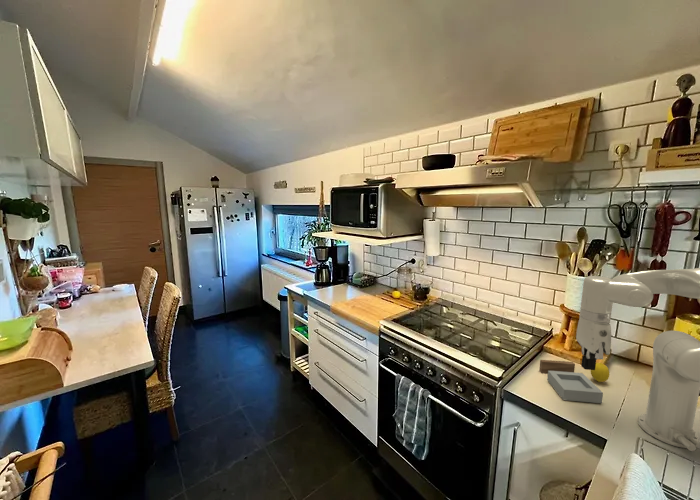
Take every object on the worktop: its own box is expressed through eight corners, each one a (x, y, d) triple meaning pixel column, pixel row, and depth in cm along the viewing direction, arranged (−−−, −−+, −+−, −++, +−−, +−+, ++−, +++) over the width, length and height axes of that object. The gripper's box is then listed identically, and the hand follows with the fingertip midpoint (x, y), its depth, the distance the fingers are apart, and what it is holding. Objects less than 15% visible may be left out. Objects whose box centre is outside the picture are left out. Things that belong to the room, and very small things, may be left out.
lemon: (612, 386, 111) (614, 366, 110) (597, 386, 111) (599, 366, 110) (600, 377, 117) (602, 359, 115) (586, 377, 117) (588, 359, 115)
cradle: (601, 403, 102) (603, 392, 101) (563, 399, 104) (564, 389, 103) (581, 382, 113) (582, 373, 113) (547, 379, 115) (548, 370, 115)
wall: (573, 375, 118) (575, 364, 118) (541, 372, 121) (542, 361, 120) (571, 373, 120) (572, 361, 119) (539, 370, 122) (540, 359, 121)
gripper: (625, 325, 85) (617, 383, 88) (593, 307, 99) (587, 357, 102) (596, 324, 86) (588, 380, 89) (568, 306, 101) (563, 355, 104)
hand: (587, 368), depth 96 cm, fingers closed
